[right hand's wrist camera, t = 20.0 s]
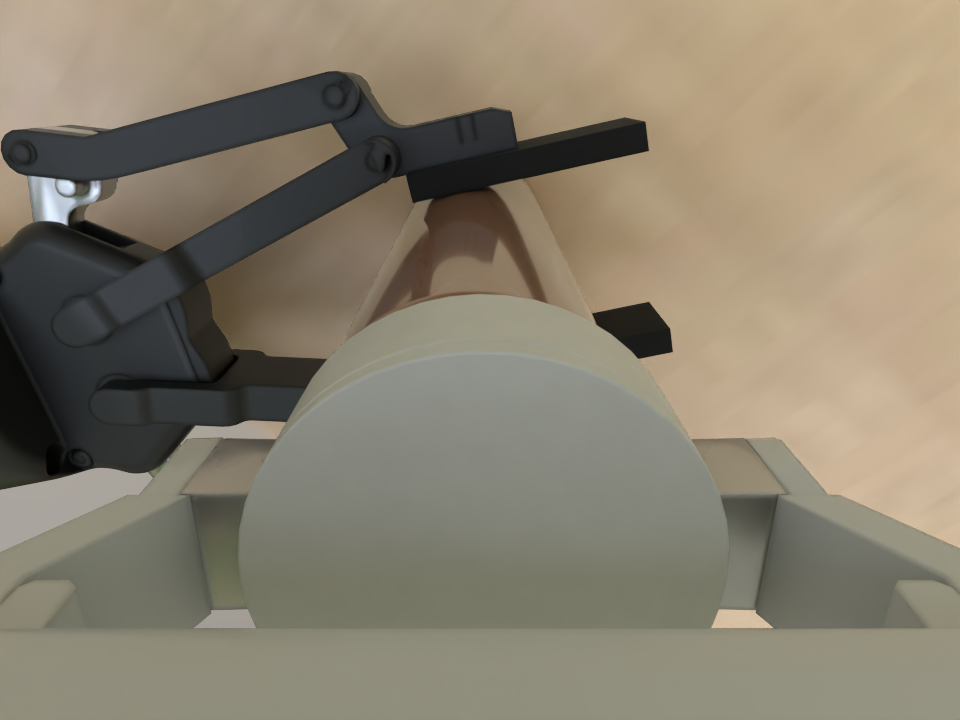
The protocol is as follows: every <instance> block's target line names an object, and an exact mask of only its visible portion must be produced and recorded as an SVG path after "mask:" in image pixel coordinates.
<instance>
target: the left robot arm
mask: <svg viewBox="0 0 960 720" xmlns="http://www.w3.org/2000/svg"><path fill="white" fill-rule="evenodd" d="M328 123H331V124H332V125H333V127H334V128H335V130H336V131H337V133H338V134H339V136H340V137H341V138H342V140H343V141H344V143H345V144H346V146H347V147H348V149H347V150H346V151H344V152H342V153H340V154H338V155H337V156H335V157H333V158H331V159H330V160H328V161H326V162H324V163H322V164H321V165H319V166H317V167H315V168H313V169H312V170H310V171H308V172H306V173H305V174H303V175H301V176H299V177H297V178H296V179H294V180H292V181H290V182H288V183H287V184H285V185H283V186H281V187H280V188H278V189H276V190H274V191H272V192H271V193H269V194H267V195H265V196H263V197H262V198H260V199H258V200H256V201H255V202H253V203H251V204H249V205H247V206H246V207H244V208H242V209H240V210H238V211H237V212H235V213H233V214H231V215H230V216H228V217H226V218H224V219H222V220H221V221H219V222H217V223H215V224H213V225H212V226H210V227H208V228H206V229H205V230H203V231H201V232H199V233H197V234H196V235H194V236H192V237H190V238H188V239H187V240H185V241H183V242H181V243H180V244H178V245H176V246H174V247H172V248H170V249H169V250H167V251H165V252H164V251H162V250H159V249H157V248H154V247H152V246H149V245H147V244H144V243H142V242H139V241H137V240H134V239H132V238H129V237H127V236H124V235H122V234H119V233H117V232H114V231H112V230H109V229H107V228H105V227H102V226H100V225H97V224H95V223H92V222H90V221H87V220H85V219H84V213H85V210H86V208H87V207H88V206H89V204H92V203H95V202H98V201H102V200H105V199H107V198H109V197H111V196H112V195H113V194H114V192H115V190H116V184H117V182H118V178H119V177H123V176H127V175H131V174H135V173H139V172H143V171H147V170H151V169H155V168H159V167H163V166H167V165H171V164H175V163H179V162H182V161H186V160H190V159H194V158H198V157H202V156H205V155H209V154H213V153H217V152H221V151H225V150H228V149H232V148H236V147H240V146H244V145H248V144H251V143H255V142H259V141H263V140H267V139H271V138H274V137H278V136H282V135H286V134H290V133H294V132H297V131H301V130H305V129H309V128H313V127H317V126H320V125H324V124H328ZM646 151H649V148H648V140H647V131H646V123H645V122H644V121H639V120H634V119H630V118H621V119H616V120H612V121H608V122H603V123H599V124H594V125H590V126H585V127H581V128H577V129H572V130H568V131H563V132H559V133H554V134H550V135H546V136H541V137H537V138H532V139H528V140H524V141H519V142H517V139H516V133H515V128H514V123H513V117H512V112H511V111H510V110H504V109H499V108H493V107H489V108H485V109H481V110H476V111H472V112H468V113H463V114H459V115H455V116H450V117H446V118H442V119H437V120H433V121H429V122H424V123H420V124H416V125H409V126H406V125H400V124H398V123H395V122H394V121H392V120H391V119H390V118H388V116H387V115H386V114H385V113H384V111H383V110H382V108H381V107H380V105H379V104H378V102H377V101H376V99H375V97H374V96H373V94H372V93H371V89H370V87H369V85H368V83H367V81H366V80H365V79H363V78H362V77H361V76H360V75H357V74H354V73H348V72H339V71H332V72H325V73H321V74H317V75H314V76H310V77H306V78H303V79H299V80H295V81H291V82H288V83H284V84H280V85H276V86H273V87H269V88H265V89H261V90H258V91H254V92H250V93H246V94H243V95H239V96H235V97H232V98H228V99H224V100H220V101H217V102H213V103H209V104H205V105H202V106H198V107H194V108H190V109H187V110H183V111H179V112H175V113H172V114H168V115H164V116H161V117H157V118H153V119H149V120H146V121H142V122H138V123H134V124H131V125H127V126H123V127H119V128H116V129H112V130H110V129H101V128H93V127H84V126H76V125H65V126H51V127H40V128H30V129H21V130H12V131H10V132H9V133H7V134H5V136H4V138H3V139H2V141H1V152H2V155H3V158H4V160H5V162H6V163H7V164H8V166H9V167H10V168H12V169H13V170H14V171H16V172H17V173H20V174H23V175H26V176H27V177H28V184H29V192H30V199H31V207H32V215H33V222H34V223H31V224H29V225H27V226H25V227H23V228H22V229H21V230H20V231H18V232H17V233H16V235H15V236H14V237H13V238H12V240H11V241H10V242H9V243H7V244H6V245H5V246H3V247H0V490H1V489H7V488H12V487H17V486H22V485H27V484H32V483H38V482H42V481H48V480H53V479H58V478H61V477H65V476H69V475H72V474H76V473H79V472H82V471H86V470H89V469H93V468H111V469H117V470H121V471H125V472H128V473H145V472H148V473H149V474H150V475H151V476H152V477H153V478H154V477H155V476H156V474H157V473H158V472H159V471H160V470H161V468H162V467H163V466H164V465H165V464H166V463H167V461H168V460H169V459H170V458H171V457H172V455H173V454H174V453H175V452H176V451H177V450H178V448H179V447H180V446H181V445H180V444H181V442H182V441H183V440H184V439H185V438H186V436H187V435H188V434H189V433H190V432H191V430H192V429H193V428H194V427H195V425H199V426H222V427H224V426H233V425H237V424H239V423H241V422H244V421H248V420H258V421H280V422H287V420H288V419H289V417H290V415H291V414H292V412H293V410H294V408H295V407H296V405H297V403H298V401H299V400H300V398H301V396H302V395H303V393H304V391H305V389H306V388H307V386H308V384H309V383H310V381H311V379H312V378H313V376H314V375H315V374H316V373H317V371H318V370H319V369H320V368H321V366H322V365H323V364H324V363H325V362H326V360H327V359H313V358H291V357H271V356H267V355H265V354H264V353H263V352H261V351H256V350H238V349H230V346H229V343H228V341H227V339H226V337H225V336H224V335H223V333H222V332H221V330H220V329H219V327H218V326H217V324H216V323H215V322H214V320H213V316H212V307H211V297H210V293H209V290H208V288H207V285H206V283H205V280H206V279H208V278H209V277H211V276H213V275H215V274H217V273H219V272H220V271H222V270H224V269H226V268H228V267H230V266H231V265H233V264H235V263H237V262H239V261H241V260H242V259H244V258H246V257H248V256H250V255H252V254H253V253H255V252H257V251H259V250H261V249H263V248H265V247H266V246H268V245H270V244H272V243H274V242H276V241H277V240H279V239H281V238H283V237H285V236H287V235H288V234H290V233H292V232H294V231H296V230H298V229H299V228H301V227H303V226H305V225H307V224H309V223H310V222H312V221H314V220H316V219H318V218H320V217H321V216H323V215H325V214H327V213H329V212H331V211H332V210H334V209H336V208H338V207H340V206H342V205H343V204H345V203H347V202H349V201H351V200H353V199H354V198H356V197H358V196H360V195H362V194H364V193H366V192H367V191H369V190H371V189H373V188H375V187H377V186H378V185H380V184H382V183H384V182H385V183H386V182H387V181H389V180H390V179H391V178H395V177H399V176H404V175H406V177H407V181H408V185H409V189H410V193H411V197H412V201H413V203H416V202H420V201H425V200H429V199H434V198H438V197H443V196H447V195H452V194H456V193H461V192H465V191H470V190H474V189H479V188H483V187H488V186H492V185H497V184H501V183H506V182H510V181H515V180H519V179H524V178H528V177H533V176H538V175H542V174H547V173H551V172H556V171H560V170H565V169H569V168H574V167H578V166H583V165H587V164H592V163H596V162H601V161H605V160H610V159H614V158H619V157H623V156H628V155H632V154H637V153H641V152H646ZM592 315H593V317H594V319H595V321H596V323H597V325H598V326H599V327H600V328H602V329H603V330H605V331H607V332H608V333H610V334H611V335H613V336H614V337H615V338H616V339H617V340H618V341H620V342H621V343H622V344H623V345H624V346H626V347H627V348H628V349H629V350H630V351H631V352H632V353H633V354H634V355H635V356H636V357H637V358H638V359H640V358H645V357H650V356H655V355H660V354H665V353H670V352H673V350H672V341H671V333H670V328H669V327H668V326H667V324H666V323H665V322H664V320H663V319H662V318H661V317H660V315H659V314H658V313H657V312H656V310H655V309H654V308H653V307H652V305H651V304H650V303H649V302H646V303H641V304H636V305H632V306H627V307H622V308H617V309H612V310H607V311H602V312H597V313H592Z"/></svg>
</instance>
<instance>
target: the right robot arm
mask: <svg viewBox="0 0 960 720" xmlns="http://www.w3.org/2000/svg"><path fill="white" fill-rule="evenodd" d="M276 440H277V439H231V438H227V439H224V438H193V439H186V440H185V441H184V443H183V444H182V445H181V446H180V447H179V448H178V450H177V451H176V452H175V453H174V454H173V455H172V457H171V458H170V459H169V460H168V461H167V463H166V464H165V465H164V466H163V467H162V468H161V470H160V471H159V472H158V473H157V474H156V476H155V477H154V478H153V479H152V480H151V481H150V483H149V484H148V485H147V486H146V487H145V489H144V490H143V491H142V492H141V493H140V494H139V495H127V496H125V497H123V498H120V499H118V500H116V501H114V502H111V503H109V504H107V505H105V506H102V507H100V508H98V509H96V510H94V511H91V512H89V513H87V514H85V515H82V516H80V517H78V518H76V519H74V520H71V521H69V522H67V523H65V524H62V525H60V526H58V527H56V528H54V529H51V530H49V531H47V532H45V533H42V534H40V535H38V536H36V537H33V538H31V539H29V540H27V541H25V542H22V543H20V544H18V545H16V546H13V547H11V548H9V549H7V550H5V551H2V552H0V720H960V548H957V547H955V546H953V545H951V544H948V543H946V542H944V541H942V540H939V539H937V538H935V537H933V536H930V535H928V534H926V533H924V532H922V531H919V530H917V529H915V528H913V527H910V526H908V525H906V524H904V523H901V522H899V521H897V520H895V519H892V518H890V517H888V516H886V515H883V514H881V513H879V512H877V511H874V510H872V509H870V508H868V507H866V506H863V505H861V504H859V503H857V502H854V501H852V500H850V499H848V498H845V497H843V496H841V495H828V494H827V492H826V491H825V490H824V489H823V488H822V487H821V486H820V484H819V483H818V482H817V481H816V480H815V479H814V477H813V476H812V475H811V474H810V473H809V472H808V471H807V469H806V468H805V467H804V466H803V465H802V464H801V462H800V461H799V460H798V459H797V458H796V457H795V456H794V454H793V453H792V452H791V451H790V450H789V449H788V447H787V446H786V445H785V444H784V443H783V442H782V441H781V440H780V439H777V438H752V439H745V438H729V439H691V440H692V442H693V443H694V445H695V447H696V448H697V450H698V452H699V454H700V455H701V457H702V458H703V460H704V462H705V463H706V465H707V467H708V469H709V471H710V473H711V475H712V478H713V480H714V482H715V484H716V486H717V489H718V491H719V493H720V497H721V500H722V504H723V508H724V511H725V515H726V519H727V527H728V536H729V546H730V547H729V564H728V576H727V580H726V585H725V589H724V594H723V598H722V602H721V604H720V607H719V609H734V610H756V613H757V614H758V615H759V616H760V617H762V618H763V619H764V620H765V621H766V622H768V623H769V624H770V625H771V626H772V627H774V628H194V627H195V626H196V625H198V624H199V623H200V622H201V621H202V620H204V619H205V618H206V617H207V616H208V615H210V614H211V610H232V609H248V608H247V604H246V600H245V597H244V593H243V589H242V586H241V580H240V571H239V562H238V543H239V528H240V523H241V519H242V514H243V509H244V505H245V501H246V499H247V496H248V494H249V491H250V489H251V486H252V483H253V481H254V478H255V476H256V474H257V472H258V471H259V469H260V467H261V466H262V464H263V462H264V460H265V459H266V457H267V455H268V453H269V452H270V450H271V448H272V446H273V445H274V443H275V441H276Z"/></svg>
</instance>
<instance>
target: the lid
mask: <svg viewBox="0 0 960 720" xmlns="http://www.w3.org/2000/svg"><path fill="white" fill-rule="evenodd" d="M729 547H730V546H729V536H728V527H727V519H726V515H725V511H724V508H723V504H722V500H721V497H720V493H719V491H718V489H717V486H716V484H715V482H714V480H713V478H712V475H711V473H710V471H709V469H708V467H707V465H706V463H705V462H704V460H703V458H702V457H701V455H700V454H699V452H698V450H697V448H696V447H695V445H694V443H693V442H692V440H691V438H690V437H689V435H688V433H687V432H686V430H685V428H684V427H683V425H682V423H681V422H680V420H679V418H678V417H677V415H676V414H675V412H674V410H673V409H672V407H671V405H670V404H669V402H668V400H667V399H666V397H665V395H664V394H663V392H662V390H661V389H660V387H659V386H658V384H657V383H656V381H655V380H654V378H653V377H652V375H651V374H650V372H649V371H648V369H647V368H646V367H645V366H644V365H643V364H642V363H641V362H640V360H639V359H638V358H637V357H636V356H635V355H634V354H633V353H632V352H631V351H630V350H629V349H628V348H627V347H626V346H624V345H623V344H622V343H621V342H620V341H618V340H617V339H616V338H615V337H614V336H613V335H611V334H610V333H608V332H607V331H605V330H603V329H602V328H600V327H599V326H597V325H596V324H594V323H592V322H591V321H589V320H587V319H585V318H583V317H581V316H579V315H576V314H574V313H572V312H570V311H568V310H565V309H563V308H560V307H557V306H554V305H550V304H547V303H544V302H540V301H537V300H533V299H527V298H521V297H515V296H509V295H491V294H472V295H461V296H449V297H444V298H440V299H435V300H431V301H426V302H421V303H418V304H416V305H413V306H410V307H407V308H404V309H402V310H399V311H396V312H394V313H392V314H390V315H388V316H386V317H384V318H382V319H380V320H378V321H376V322H374V323H372V324H370V325H369V326H367V327H366V328H364V329H363V330H361V331H360V332H359V333H357V334H356V335H354V336H353V337H351V338H350V339H348V340H347V341H346V342H345V343H344V344H343V345H342V346H341V347H340V348H339V349H337V350H336V351H335V352H334V353H333V354H332V355H331V356H330V357H329V358H328V359H327V360H326V362H325V363H324V364H323V365H322V366H321V368H320V369H319V370H318V371H317V373H316V374H315V375H314V376H313V378H312V379H311V381H310V383H309V384H308V386H307V388H306V389H305V391H304V393H303V395H302V396H301V398H300V400H299V401H298V403H297V405H296V407H295V408H294V410H293V412H292V414H291V415H290V417H289V419H288V420H287V422H286V424H285V426H284V427H283V429H282V431H281V433H280V434H279V436H278V438H277V440H276V441H275V443H274V445H273V446H272V448H271V450H270V452H269V453H268V455H267V457H266V459H265V460H264V462H263V464H262V466H261V467H260V469H259V471H258V472H257V474H256V476H255V478H254V481H253V483H252V486H251V489H250V491H249V494H248V496H247V499H246V501H245V505H244V509H243V514H242V519H241V523H240V528H239V543H238V562H239V571H240V580H241V586H242V589H243V593H244V597H245V600H246V604H247V608H248V610H249V613H250V615H251V617H252V619H253V622H254V624H255V626H256V628H711V626H712V625H713V622H714V620H715V617H716V615H717V612H718V609H719V607H720V604H721V602H722V598H723V594H724V589H725V585H726V580H727V576H728V564H729Z"/></svg>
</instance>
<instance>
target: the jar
mask: <svg viewBox="0 0 960 720" xmlns="http://www.w3.org/2000/svg"><path fill="white" fill-rule="evenodd" d="M472 294H491V295H509V296H515V297H521V298H527V299H533V300H537V301H540V302H544V303H547V304H550V305H554V306H557V307H560V308H563V309H565V310H568V311H570V312H572V313H574V314H576V315H579V316H581V317H583V318H585V319H587V320H589V321H591V322H592V323H594V324H596V325H597V323H596V321H595V319H594V317H593V315H592V313H591V310H590V308H589V306H588V304H587V302H586V300H585V298H584V296H583V294H582V292H581V290H580V288H579V286H578V284H577V282H576V280H575V278H574V275H573V273H572V271H571V269H570V267H569V265H568V263H567V261H566V259H565V257H564V255H563V253H562V251H561V249H560V247H559V245H558V243H557V240H556V238H555V236H554V234H553V232H552V230H551V228H550V226H549V224H548V222H547V220H546V218H545V216H544V214H543V212H542V210H541V207H540V205H539V203H538V201H537V199H536V197H535V195H534V193H533V192H532V190H531V189H530V187H529V186H528V184H527V183H526V182H525V181H524V180H523V179H519V180H515V181H510V182H506V183H501V184H497V185H492V186H488V187H483V188H479V189H474V190H470V191H465V192H461V193H456V194H452V195H447V196H443V197H438V198H434V199H429V200H425V201H420V202H416V203H415V205H414V207H413V209H412V211H411V213H410V215H409V217H408V218H407V220H406V222H405V224H404V226H403V228H402V230H401V232H400V234H399V236H398V237H397V239H396V241H395V243H394V245H393V247H392V249H391V251H390V253H389V255H388V256H387V258H386V260H385V262H384V264H383V266H382V268H381V270H380V272H379V274H378V275H377V277H376V279H375V281H374V283H373V285H372V287H371V289H370V291H369V293H368V294H367V296H366V298H365V300H364V302H363V304H362V306H361V308H360V310H359V312H358V314H357V315H356V317H355V319H354V321H353V323H352V325H351V327H350V329H349V331H348V333H347V334H346V336H345V338H344V340H343V342H342V344H341V346H342V345H343V344H344V343H345V342H346V341H347V340H348V339H350V338H351V337H353V336H354V335H356V334H357V333H359V332H360V331H361V330H363V329H364V328H366V327H367V326H369V325H370V324H372V323H374V322H376V321H378V320H380V319H382V318H384V317H386V316H388V315H390V314H392V313H394V312H396V311H399V310H402V309H404V308H407V307H410V306H413V305H416V304H418V303H421V302H426V301H431V300H435V299H440V298H444V297H449V296H461V295H472ZM597 326H598V325H597ZM341 346H340V347H341Z"/></svg>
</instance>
